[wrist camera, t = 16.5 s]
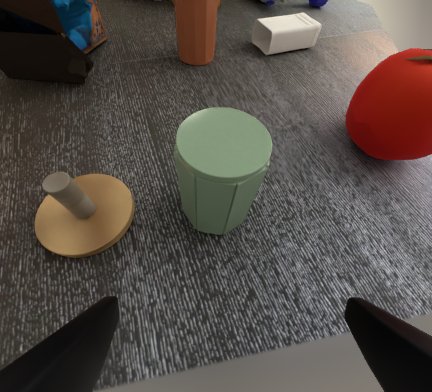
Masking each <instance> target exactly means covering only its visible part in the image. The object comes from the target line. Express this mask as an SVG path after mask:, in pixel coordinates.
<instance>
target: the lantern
mask: <svg viewBox="0 0 432 392" xmlns="http://www.w3.org/2000/svg"><path fill="white" fill-rule="evenodd" d="M106 39H107V35H106V32H105V29H104V26H103V23H102V19H101V15H100V13H99V9H98V6H97V0H0V69H1V70H2V71H3V72H4V73H5V74H6V75H7V76H8V77H9V78H13V79H30V80H44V81H61V82H72V83H81V84H83V83H85V79H86V78H87V76H88V73H89V71H90V70H91V69H92V67H93V63H92V61H91V60H90V59H89V58H88V57H87V56H86V54H88V53H89V52H90V51H91V50H93V49H94V48H95V47H97V46H99V45H100V44H101V43H102V42H104V41H105V40H106Z"/></svg>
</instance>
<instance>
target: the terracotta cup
mask: <svg viewBox="0 0 432 392" xmlns="http://www.w3.org/2000/svg"><path fill="white" fill-rule="evenodd" d="M217 8H218V0H174V12H175V24H176V37H177V49H178V56H179V58H180V59H181V60H182V61H183V62H185V63H187V64H190V65H205V64H208V63H210V62H212V61H213V59H214V54H215V42H216V25H217Z"/></svg>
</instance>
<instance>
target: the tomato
mask: <svg viewBox="0 0 432 392" xmlns="http://www.w3.org/2000/svg"><path fill="white" fill-rule="evenodd" d="M345 123H346V127H347V131H348V134H349V136H350V138H351V139H352V140H353V141H354V142H355V143H356V145H358V146H359V147H360V148H361V149H362V150H363V151H364V152H365V153H366V154H367V155H369V156H372V157H374V158H377V159H381V160H411V159H418V158H421V157H425V156H428V155H430V154H432V49H408V50H405V51H402V52H399V53H396V54H394V55H391V56H389V57H388V58H386V59H385V60H384V61H382V62H381V63H379V64H378V65H377V66H376V67H375V68H374V69H373V70H372V71H371V72H370V73H369V74H368V75H367V76H366V77H365V79H364V80H363V81H362V82H361V83H360V85H359V86H358V87H357V89H356V91H355V93H354V95H353V97H352V99H351V101H350V104H349V107H348V110H347V113H346V121H345Z"/></svg>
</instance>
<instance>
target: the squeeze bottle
mask: <svg viewBox="0 0 432 392" xmlns="http://www.w3.org/2000/svg"><path fill="white" fill-rule="evenodd" d="M260 1H262V2H265V3H266V6H268V5H271V4H274V3H275V2H276V1H277V2H280V1H282V2H283V3H286V2H287V1H288V0H260ZM327 1H328V0H309V4H310V5H311V6H320V7H321V6H324V5H325V4H326V2H327Z"/></svg>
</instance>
